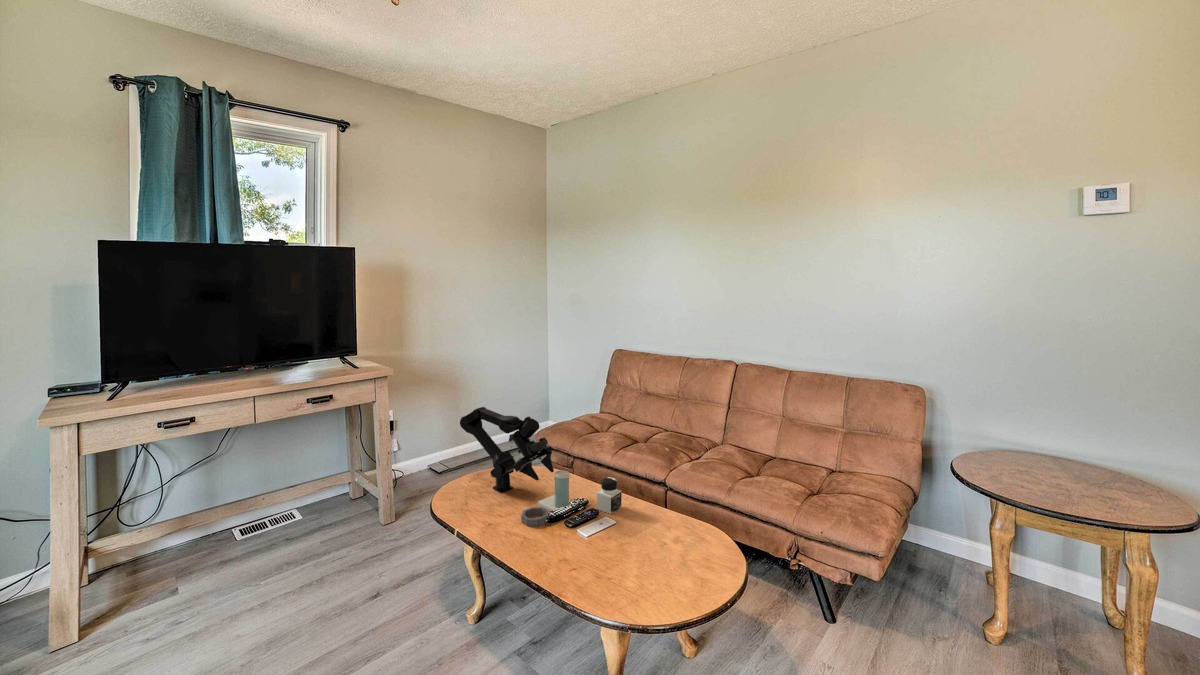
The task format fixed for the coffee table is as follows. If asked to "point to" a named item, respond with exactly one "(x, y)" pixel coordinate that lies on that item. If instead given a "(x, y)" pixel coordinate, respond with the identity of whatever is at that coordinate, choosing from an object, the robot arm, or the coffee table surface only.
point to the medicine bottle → (609, 496)
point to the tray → (550, 503)
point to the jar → (561, 488)
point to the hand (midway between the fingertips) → (545, 475)
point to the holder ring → (534, 521)
